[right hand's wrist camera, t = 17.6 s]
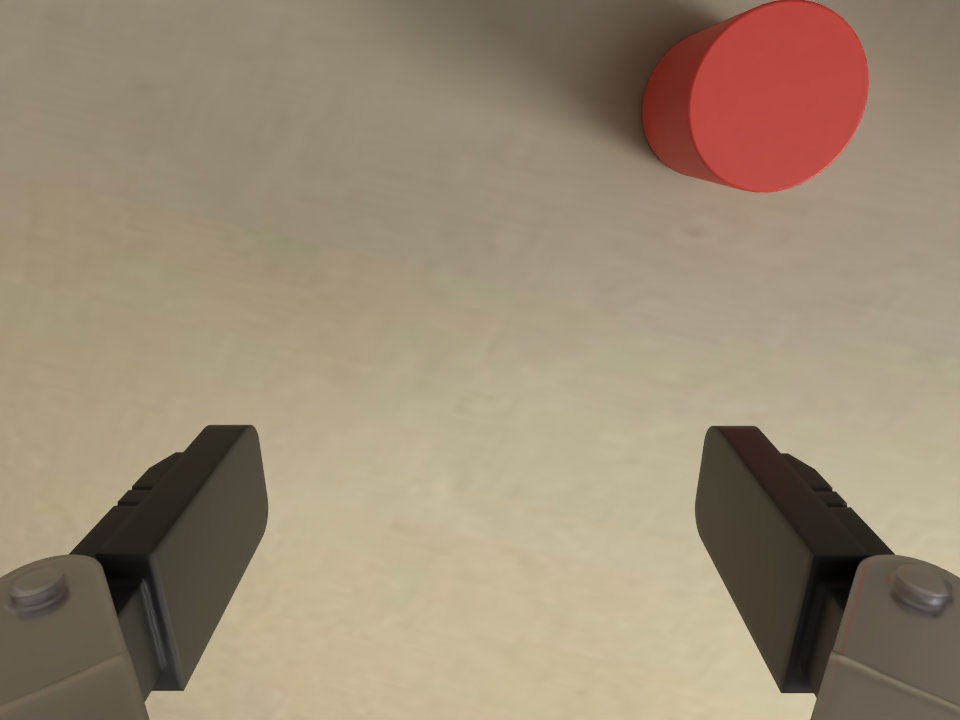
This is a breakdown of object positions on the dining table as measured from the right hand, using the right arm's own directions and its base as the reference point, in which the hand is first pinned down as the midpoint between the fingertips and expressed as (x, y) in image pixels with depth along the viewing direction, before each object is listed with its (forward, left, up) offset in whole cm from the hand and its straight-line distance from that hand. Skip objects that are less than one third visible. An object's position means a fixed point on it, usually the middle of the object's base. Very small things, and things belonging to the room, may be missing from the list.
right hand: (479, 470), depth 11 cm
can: (-9, +2, -12) cm, 15 cm away
